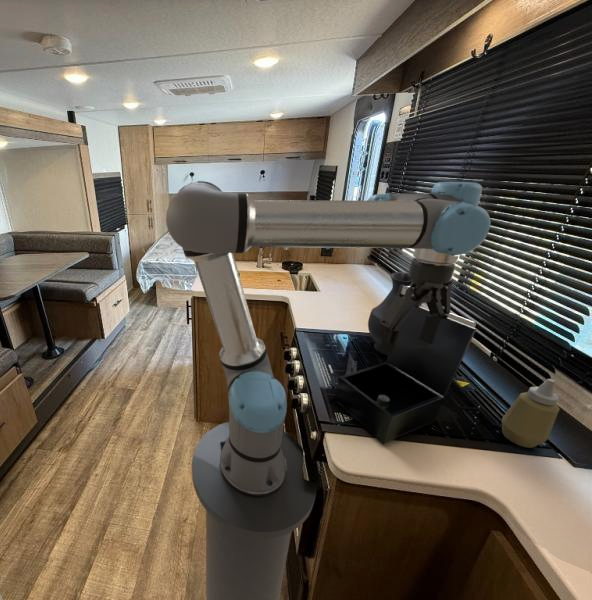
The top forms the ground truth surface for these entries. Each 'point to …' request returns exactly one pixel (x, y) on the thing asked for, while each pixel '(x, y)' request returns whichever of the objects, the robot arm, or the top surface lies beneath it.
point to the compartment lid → (432, 349)
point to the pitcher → (385, 308)
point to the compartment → (402, 407)
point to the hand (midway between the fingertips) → (406, 346)
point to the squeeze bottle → (531, 416)
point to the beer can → (383, 401)
